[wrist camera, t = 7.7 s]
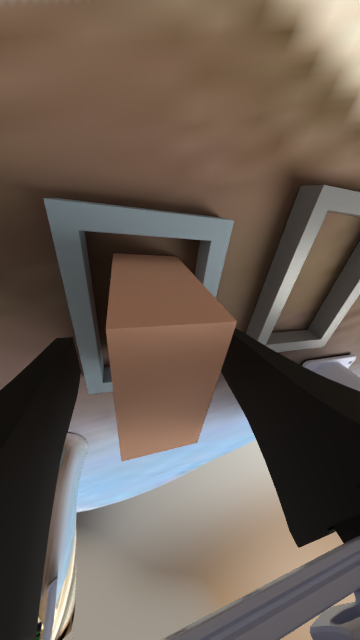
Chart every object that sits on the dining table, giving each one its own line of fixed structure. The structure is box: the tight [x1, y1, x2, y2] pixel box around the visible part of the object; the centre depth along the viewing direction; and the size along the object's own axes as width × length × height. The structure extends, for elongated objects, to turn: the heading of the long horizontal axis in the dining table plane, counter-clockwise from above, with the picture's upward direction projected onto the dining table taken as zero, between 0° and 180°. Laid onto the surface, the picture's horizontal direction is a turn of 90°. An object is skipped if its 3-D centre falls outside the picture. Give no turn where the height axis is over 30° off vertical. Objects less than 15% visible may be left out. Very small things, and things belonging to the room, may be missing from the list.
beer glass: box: [34, 433, 88, 640], centre depth 12 cm, size 7×7×15 cm
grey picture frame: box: [43, 198, 234, 395], centre depth 12 cm, size 12×8×2 cm
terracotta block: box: [106, 253, 237, 461], centre depth 9 cm, size 7×4×7 cm, turn 173°
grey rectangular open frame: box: [246, 185, 360, 352], centre depth 14 cm, size 12×8×2 cm
